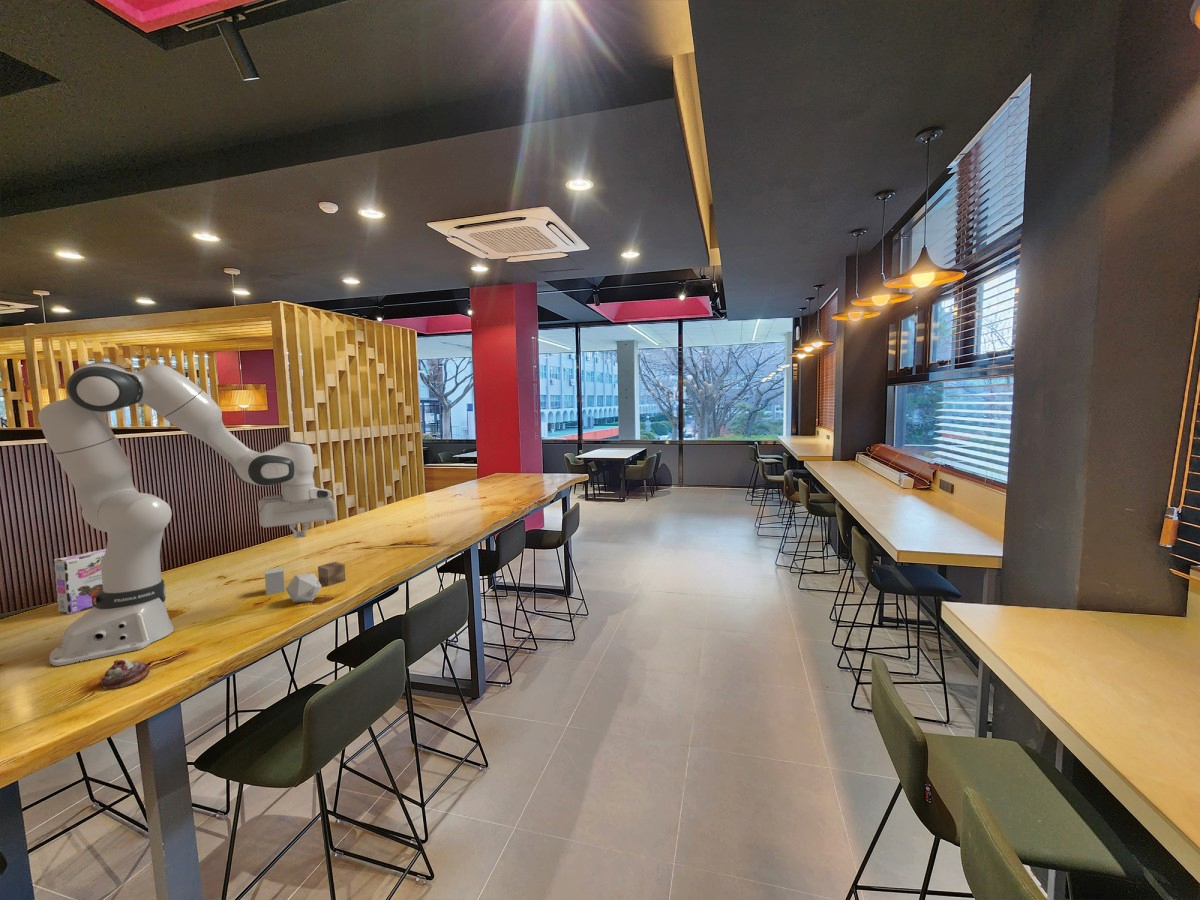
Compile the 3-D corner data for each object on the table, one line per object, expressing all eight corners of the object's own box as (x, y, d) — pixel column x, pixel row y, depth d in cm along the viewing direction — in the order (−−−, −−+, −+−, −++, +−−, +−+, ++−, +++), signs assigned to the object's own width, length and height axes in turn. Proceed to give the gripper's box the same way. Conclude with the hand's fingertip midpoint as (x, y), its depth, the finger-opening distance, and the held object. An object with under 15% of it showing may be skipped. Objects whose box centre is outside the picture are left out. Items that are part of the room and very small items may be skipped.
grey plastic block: (266, 595, 156) (264, 574, 155) (266, 590, 160) (265, 570, 159) (284, 591, 159) (283, 571, 158) (284, 587, 163) (283, 567, 162)
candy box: (69, 615, 142) (63, 560, 140) (57, 612, 143) (52, 559, 142) (127, 597, 155) (123, 548, 153) (116, 595, 156) (111, 546, 155)
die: (300, 609, 145) (321, 579, 149) (274, 595, 145) (296, 565, 148) (311, 609, 153) (331, 580, 157) (286, 595, 153) (307, 567, 156)
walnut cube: (328, 586, 163) (327, 569, 163) (318, 583, 166) (317, 566, 166) (345, 580, 168) (344, 564, 168) (335, 578, 171) (335, 561, 171)
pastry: (91, 688, 103) (89, 666, 103) (131, 670, 111) (129, 649, 110) (121, 692, 102) (118, 669, 101) (159, 673, 109) (157, 652, 109)
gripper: (259, 498, 139) (261, 544, 140) (337, 491, 153) (338, 534, 154) (255, 495, 144) (257, 541, 144) (331, 489, 158) (332, 530, 159)
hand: (299, 537), depth 149 cm, fingers closed
